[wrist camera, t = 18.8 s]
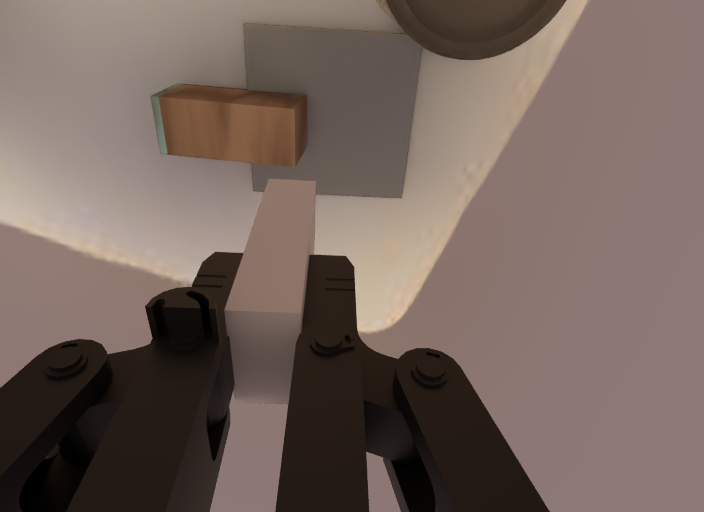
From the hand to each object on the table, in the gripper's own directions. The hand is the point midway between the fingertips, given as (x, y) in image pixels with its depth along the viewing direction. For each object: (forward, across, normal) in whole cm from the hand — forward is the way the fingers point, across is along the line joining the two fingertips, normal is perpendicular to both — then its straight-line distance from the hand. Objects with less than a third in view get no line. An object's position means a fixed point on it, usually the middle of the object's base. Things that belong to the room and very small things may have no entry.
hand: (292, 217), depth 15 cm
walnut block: (+23, -1, -4) cm, 23 cm away
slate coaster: (+26, +1, -4) cm, 27 cm away
